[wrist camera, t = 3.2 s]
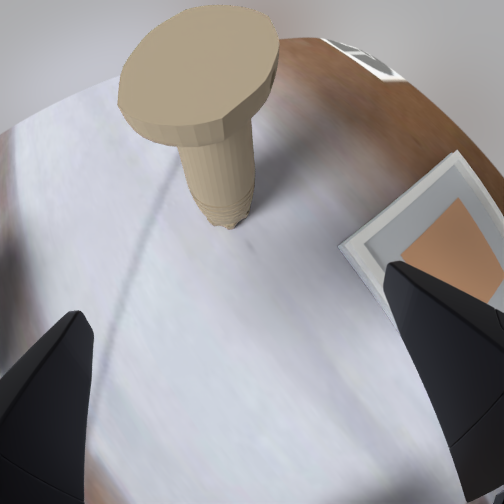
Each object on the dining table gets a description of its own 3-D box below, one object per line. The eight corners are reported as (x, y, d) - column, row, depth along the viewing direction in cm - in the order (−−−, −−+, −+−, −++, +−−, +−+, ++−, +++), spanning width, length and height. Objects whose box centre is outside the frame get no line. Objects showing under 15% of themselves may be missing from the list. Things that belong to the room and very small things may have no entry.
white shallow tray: (440, 399, 19) (452, 403, 18) (337, 246, 22) (344, 240, 20) (525, 282, 22) (537, 279, 20) (447, 155, 24) (456, 147, 23)
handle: (269, 180, 23) (292, 13, 9) (247, 259, 22) (245, 140, 7) (209, 166, 23) (173, 3, 9) (183, 242, 22) (88, 117, 7)
